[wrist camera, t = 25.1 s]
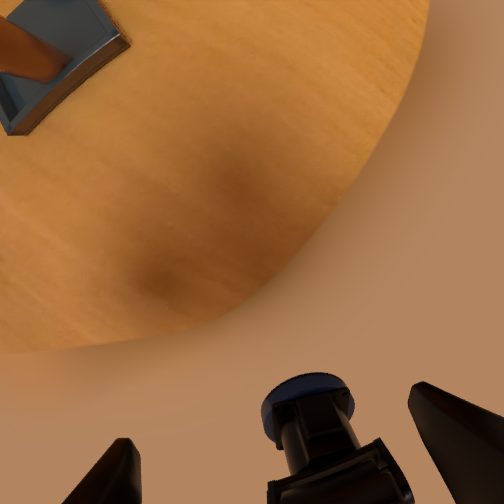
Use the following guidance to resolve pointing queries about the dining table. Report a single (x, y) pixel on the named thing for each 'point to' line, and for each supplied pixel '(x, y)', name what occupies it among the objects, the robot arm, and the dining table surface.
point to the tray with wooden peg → (50, 56)
